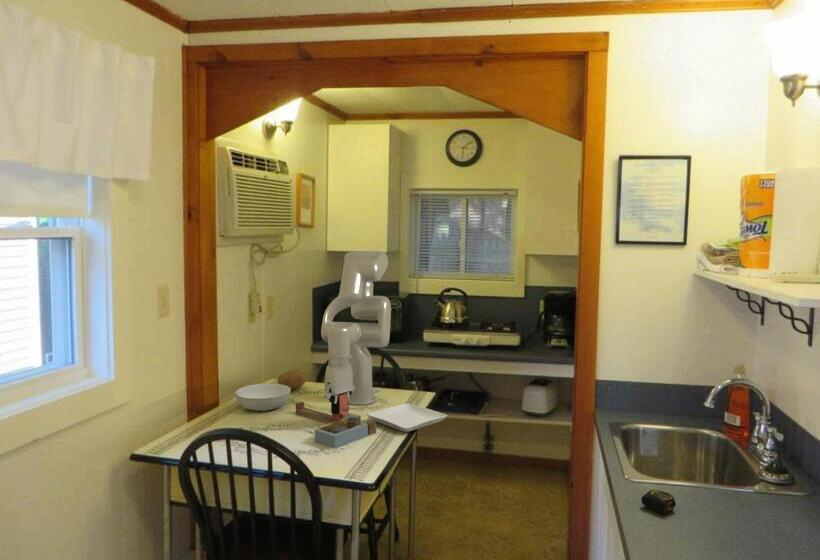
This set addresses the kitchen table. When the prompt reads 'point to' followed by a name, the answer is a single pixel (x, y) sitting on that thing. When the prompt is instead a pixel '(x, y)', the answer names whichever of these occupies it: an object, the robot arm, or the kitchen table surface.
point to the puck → (338, 429)
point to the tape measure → (659, 501)
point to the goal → (341, 436)
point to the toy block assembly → (342, 414)
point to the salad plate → (406, 417)
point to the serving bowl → (263, 396)
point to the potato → (292, 379)
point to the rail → (329, 417)
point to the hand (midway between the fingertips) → (340, 411)
